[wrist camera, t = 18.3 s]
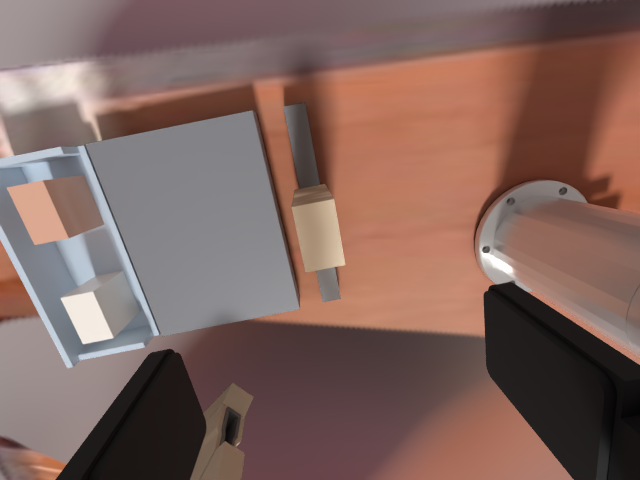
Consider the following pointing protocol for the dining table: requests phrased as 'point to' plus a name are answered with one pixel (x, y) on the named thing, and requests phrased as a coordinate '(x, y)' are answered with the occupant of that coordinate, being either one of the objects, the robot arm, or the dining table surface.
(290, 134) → the scraper
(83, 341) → the tile cream
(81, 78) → the dining table surface
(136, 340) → the box
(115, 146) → the board
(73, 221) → the tile terracotta
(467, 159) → the dining table surface
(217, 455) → the gun
